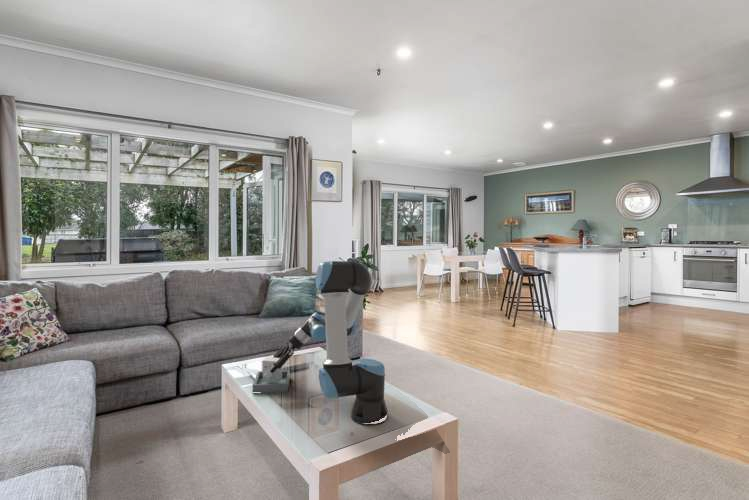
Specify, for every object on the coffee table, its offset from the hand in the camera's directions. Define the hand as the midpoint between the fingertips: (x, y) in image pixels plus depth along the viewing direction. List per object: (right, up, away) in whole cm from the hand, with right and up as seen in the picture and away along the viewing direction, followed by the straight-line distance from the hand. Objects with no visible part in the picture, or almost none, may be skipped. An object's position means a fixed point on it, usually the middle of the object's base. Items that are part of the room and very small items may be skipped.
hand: (265, 373), depth 192 cm
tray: (+3, -6, +1) cm, 7 cm away
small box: (+3, -4, +1) cm, 5 cm away
